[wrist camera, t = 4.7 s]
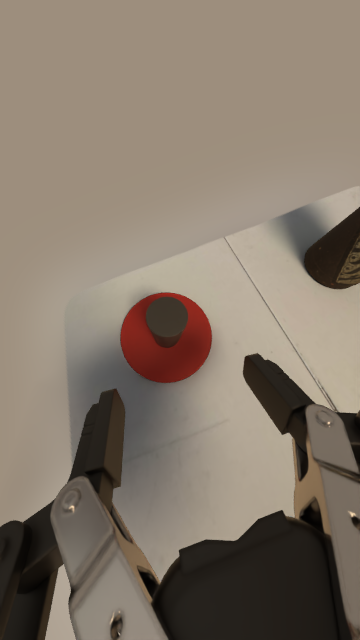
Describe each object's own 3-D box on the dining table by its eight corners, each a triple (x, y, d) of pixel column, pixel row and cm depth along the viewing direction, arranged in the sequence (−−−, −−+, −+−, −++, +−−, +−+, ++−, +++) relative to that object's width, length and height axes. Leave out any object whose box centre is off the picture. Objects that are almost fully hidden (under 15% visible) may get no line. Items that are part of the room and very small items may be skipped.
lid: (146, 400, 19) (129, 429, 11) (107, 317, 21) (68, 285, 13) (226, 353, 21) (266, 346, 13) (184, 282, 23) (194, 234, 15)
